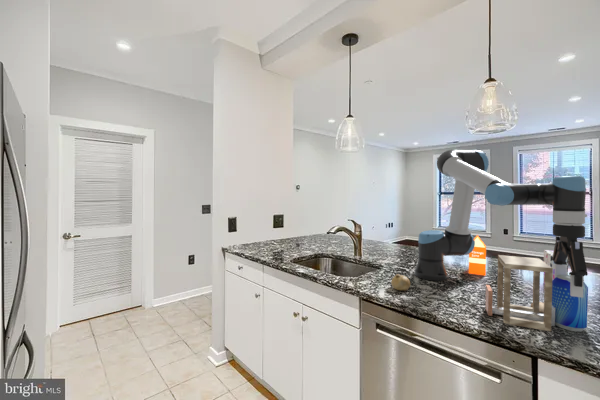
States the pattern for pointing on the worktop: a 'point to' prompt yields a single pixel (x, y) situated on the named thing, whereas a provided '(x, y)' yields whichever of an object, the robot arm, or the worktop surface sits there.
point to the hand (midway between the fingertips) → (567, 289)
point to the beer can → (569, 305)
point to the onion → (400, 282)
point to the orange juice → (478, 258)
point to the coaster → (540, 307)
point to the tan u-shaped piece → (513, 312)
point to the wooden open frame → (536, 267)
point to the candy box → (552, 262)
